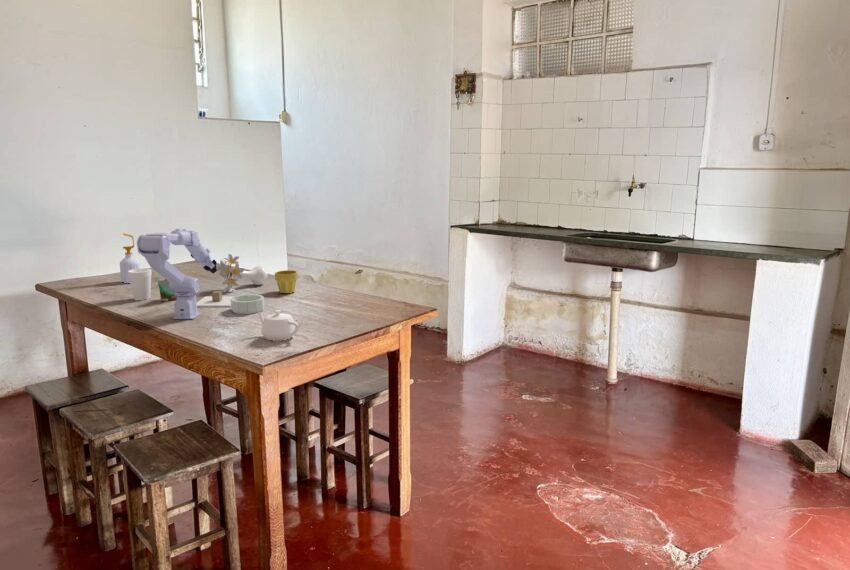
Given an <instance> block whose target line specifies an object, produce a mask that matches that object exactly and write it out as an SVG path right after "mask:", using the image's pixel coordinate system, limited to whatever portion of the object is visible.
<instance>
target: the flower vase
mask: <svg viewBox="0 0 850 570" xmlns="http://www.w3.org/2000/svg"><path fill="white" fill-rule="evenodd" d="M239 259H240V256H239V255H238V256H235V257H233V256H232V254H230V253H228V254H227V258H226V257H223V258H222V259H221V260H220V262H219V263H220V265H219V266H218V267H216V268H217V271H219V276H221V277H222V278H224V281H223V282H221V284H222V285H227V286H226V287H225V288H224V289H222V293H225V292H228V293H231V292H234V291H237V289H235V288H233V286H234V287H236V288H237V287H239V286H240V285H239V283H238V279H239V280H241V279H242V278H246V279H250V280H251V283H252V284H253V285H255V286H261V285H263V284H264V283H266V282H267V281H268V278H269V274H268V272H267V270H266V269H265V267H263V266H260V265H259V266H255V267H253V268H252V269H251V270H245V268H244V267H240V263H239V261H238V260H239ZM232 265H234V267H232Z"/></svg>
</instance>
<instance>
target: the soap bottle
mask: <svg viewBox="0 0 850 570" xmlns="http://www.w3.org/2000/svg"><path fill="white" fill-rule="evenodd" d="M122 235H123V236H127V237H130V238H132V239H131V240H132V246H131V245H130V246H123V247H122V249H124V250H125V251H126V252H125V253H124V255H125V256H124V258H123V259H121V261H120V262H119V269H120V281H121V283H122V282H124V283H123V284H125V283H130V280H129V277H128V271H129V270H133V269H141V263H140V262H141V261H140V260H139V259H137V257H133V256H134V255H133V252H132V249H133V248H135V242H134V240H135V239H134V236H133V235H132V234H129V233H125V232H124V233H122Z"/></svg>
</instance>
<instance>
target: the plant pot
mask: <svg viewBox="0 0 850 570" xmlns="http://www.w3.org/2000/svg"><path fill="white" fill-rule="evenodd" d="M274 280H275V281H276V283H277V286H278V287H277V288H278V290H279V293H280V294H281V293H292V292H294V293H295V290H296V284H297V280H298V271H296V270H292V269H291V270H288V269H286V270H278V271H275V272H274ZM292 294H293V293H292Z"/></svg>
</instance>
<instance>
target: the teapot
mask: <svg viewBox="0 0 850 570" xmlns="http://www.w3.org/2000/svg"><path fill="white" fill-rule="evenodd" d="M281 312H282V310H281V309H276V310H274V313H273V314H269V315H266V316H265V317H264V315H263V314H262V312H258V313H257V314H258V316H259V319H260V322H261V324H262V326H261V329H260V331H261V334H262V336H263V337H264V338H265V339H266V340H267V339H268V340H267V341H269V340H285V339H289V338H291V337H292V338H293V336H295V335H296V334H297V333H298V332H299V331H300V324H299V323H298V322H297V321H295V320H294V318H293V316H292V315H291V314H289V313H281ZM292 338H291V339H292ZM289 340H290V339H289ZM285 341H286V340H285Z"/></svg>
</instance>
